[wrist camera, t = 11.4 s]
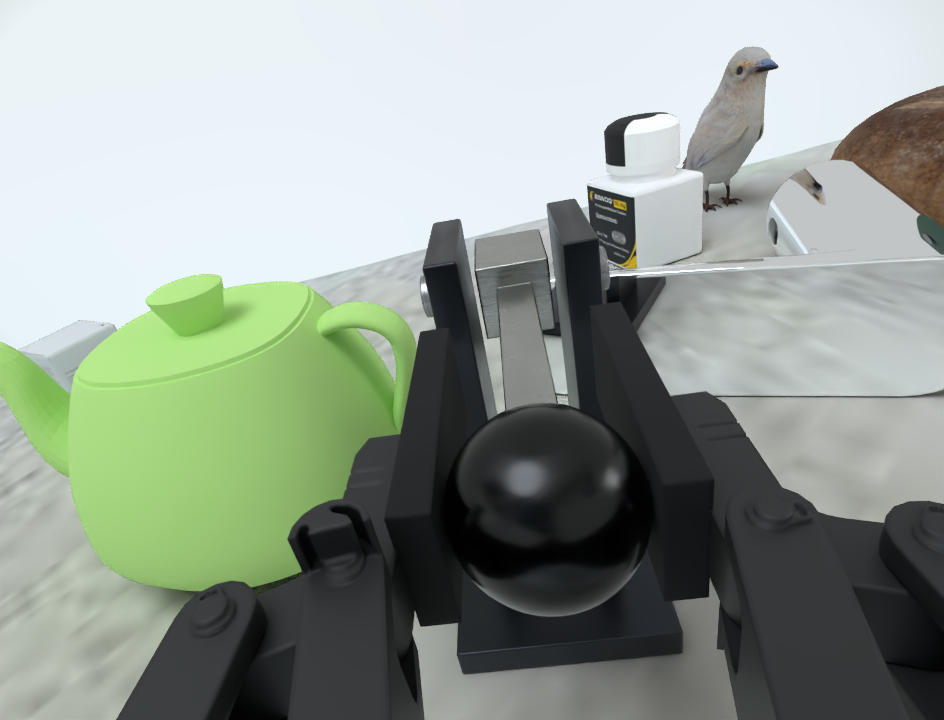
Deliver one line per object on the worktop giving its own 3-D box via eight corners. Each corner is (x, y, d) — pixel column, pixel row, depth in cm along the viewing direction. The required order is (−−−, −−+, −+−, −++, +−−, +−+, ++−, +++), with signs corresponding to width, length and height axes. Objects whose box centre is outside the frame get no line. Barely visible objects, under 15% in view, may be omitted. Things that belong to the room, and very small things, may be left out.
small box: (106, 365, 53) (79, 317, 50) (142, 371, 50) (115, 322, 47) (44, 399, 48) (10, 349, 46) (79, 409, 46) (46, 356, 43)
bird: (743, 226, 54) (754, 51, 47) (663, 199, 66) (662, 55, 59) (787, 214, 55) (805, 39, 48) (701, 189, 67) (704, 45, 59)
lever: (680, 652, 9) (683, 489, 7) (462, 673, 10) (413, 522, 8) (567, 304, 21) (557, 207, 19) (469, 320, 21) (450, 225, 19)
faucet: (894, 152, 40) (1044, 248, 25) (874, 258, 44) (994, 397, 29) (543, 191, 48) (491, 282, 32) (553, 277, 52) (511, 395, 36)
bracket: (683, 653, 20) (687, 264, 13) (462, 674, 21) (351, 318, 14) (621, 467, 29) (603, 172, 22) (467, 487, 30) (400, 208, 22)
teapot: (-24, 664, 25) (-260, 431, 19) (140, 451, 38) (33, 270, 32) (460, 600, 24) (382, 322, 17) (460, 401, 37) (415, 200, 30)
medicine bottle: (591, 255, 55) (580, 123, 49) (653, 235, 57) (650, 106, 51) (635, 276, 49) (630, 129, 43) (703, 252, 51) (707, 108, 45)
